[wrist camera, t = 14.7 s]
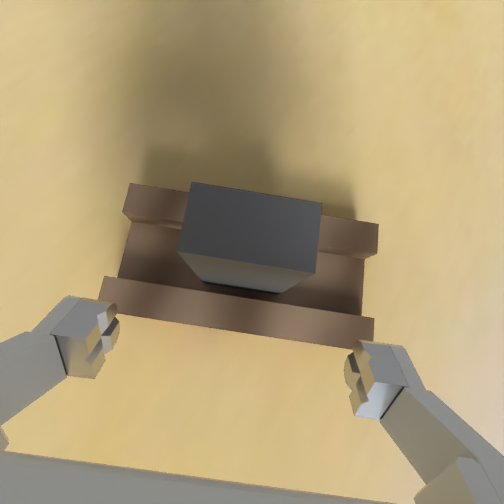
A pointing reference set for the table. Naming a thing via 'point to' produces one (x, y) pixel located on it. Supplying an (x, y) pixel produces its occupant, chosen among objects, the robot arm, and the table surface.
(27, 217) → the table surface
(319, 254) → the display ledge
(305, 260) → the dark grey rectangular block
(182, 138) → the table surface
